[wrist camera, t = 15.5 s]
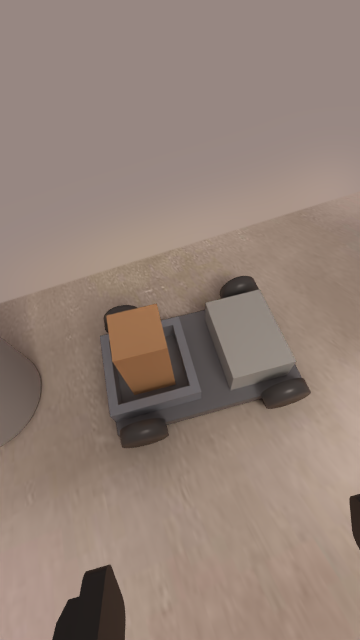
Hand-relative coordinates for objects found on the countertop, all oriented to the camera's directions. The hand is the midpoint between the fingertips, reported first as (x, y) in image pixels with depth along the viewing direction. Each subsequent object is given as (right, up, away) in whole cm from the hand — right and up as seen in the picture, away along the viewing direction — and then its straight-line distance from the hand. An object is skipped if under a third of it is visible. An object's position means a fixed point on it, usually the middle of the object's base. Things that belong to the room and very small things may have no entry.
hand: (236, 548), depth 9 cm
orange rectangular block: (-5, +1, +26) cm, 27 cm away
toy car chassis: (+1, +2, +28) cm, 28 cm away
